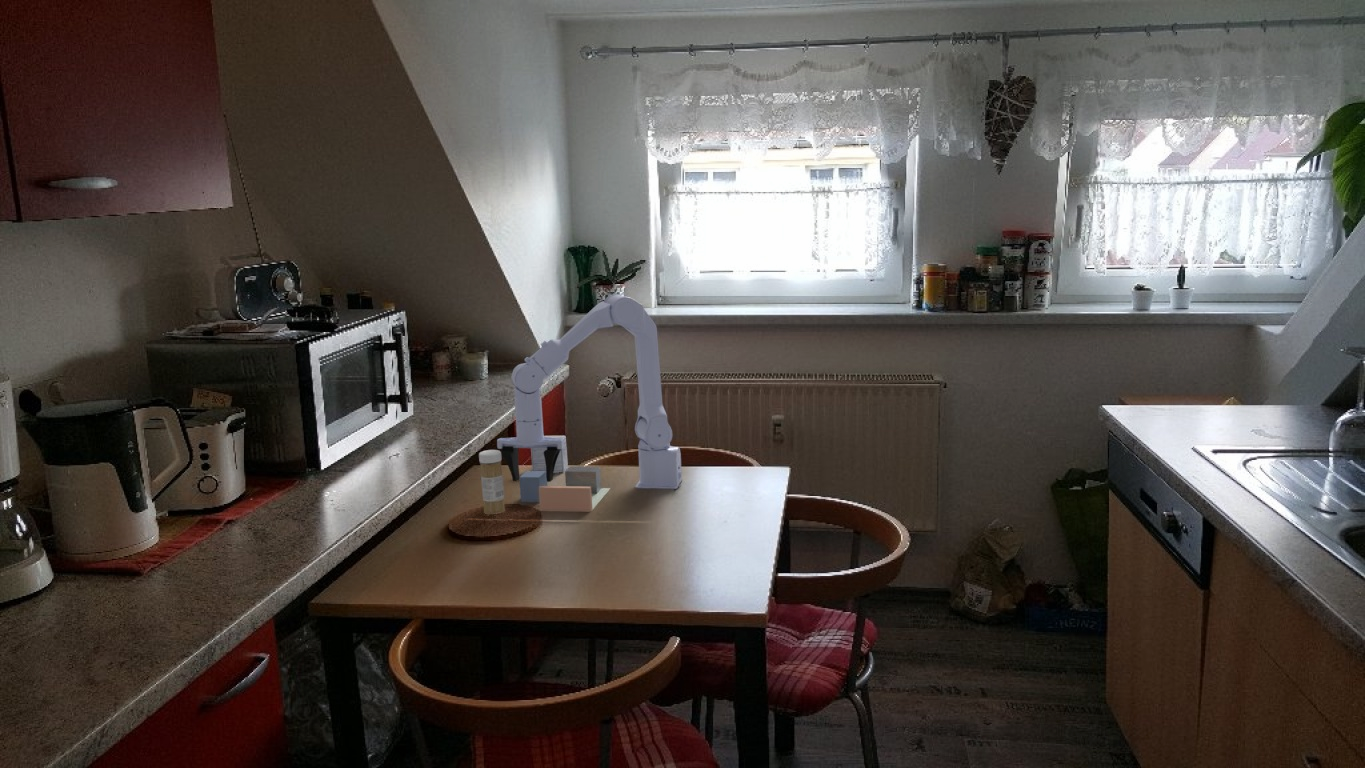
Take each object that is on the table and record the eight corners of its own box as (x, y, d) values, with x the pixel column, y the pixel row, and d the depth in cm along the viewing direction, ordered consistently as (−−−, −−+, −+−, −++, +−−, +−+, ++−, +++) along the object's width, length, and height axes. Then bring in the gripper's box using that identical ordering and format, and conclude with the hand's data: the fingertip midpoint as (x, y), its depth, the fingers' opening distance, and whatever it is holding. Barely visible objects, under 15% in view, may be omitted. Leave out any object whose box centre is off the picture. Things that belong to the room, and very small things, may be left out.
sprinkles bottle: (498, 509, 208) (494, 448, 205) (509, 513, 204) (505, 451, 202) (479, 514, 205) (474, 451, 203) (490, 518, 202) (485, 455, 199)
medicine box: (568, 469, 238) (566, 435, 237) (564, 474, 234) (562, 439, 232) (536, 470, 239) (534, 435, 237) (532, 474, 235) (529, 439, 233)
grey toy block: (601, 488, 219) (600, 466, 218) (597, 493, 215) (595, 471, 214) (571, 488, 220) (570, 466, 219) (566, 493, 216) (565, 471, 216)
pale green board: (610, 489, 219) (609, 466, 218) (591, 513, 203) (589, 488, 202) (563, 489, 221) (561, 466, 220) (540, 512, 205) (538, 487, 204)
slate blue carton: (547, 497, 215) (546, 471, 214) (541, 504, 211) (539, 477, 210) (528, 497, 216) (526, 470, 215) (521, 503, 211) (519, 477, 210)
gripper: (566, 415, 213) (570, 475, 215) (503, 415, 215) (507, 474, 218) (557, 422, 206) (561, 484, 208) (492, 422, 209) (496, 483, 211)
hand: (533, 480), depth 213 cm, fingers open, 7 cm apart
